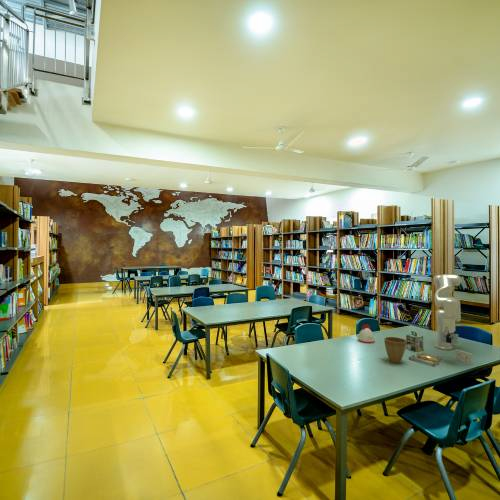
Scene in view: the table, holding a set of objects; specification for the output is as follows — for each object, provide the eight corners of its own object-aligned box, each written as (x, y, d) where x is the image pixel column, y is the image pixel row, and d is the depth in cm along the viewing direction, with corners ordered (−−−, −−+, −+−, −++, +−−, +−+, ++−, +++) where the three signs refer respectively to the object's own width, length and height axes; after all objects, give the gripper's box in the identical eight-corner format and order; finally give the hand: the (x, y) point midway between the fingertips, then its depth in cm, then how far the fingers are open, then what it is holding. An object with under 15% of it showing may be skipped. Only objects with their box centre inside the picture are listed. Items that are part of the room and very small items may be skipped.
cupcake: (354, 339, 285) (354, 323, 284) (367, 338, 289) (367, 322, 289) (364, 344, 271) (364, 326, 271) (378, 342, 275) (378, 325, 275)
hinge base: (445, 360, 232) (445, 356, 232) (434, 366, 221) (434, 362, 221) (421, 353, 246) (421, 350, 246) (408, 359, 235) (408, 355, 235)
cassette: (472, 364, 224) (473, 354, 224) (471, 365, 223) (471, 354, 223) (456, 359, 235) (456, 348, 235) (455, 359, 234) (455, 349, 234)
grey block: (442, 340, 232) (442, 331, 232) (458, 344, 224) (458, 334, 224) (441, 341, 230) (441, 332, 230) (456, 345, 222) (456, 335, 222)
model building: (423, 350, 254) (423, 332, 254) (415, 351, 251) (415, 333, 251) (414, 347, 263) (414, 329, 263) (405, 348, 260) (405, 330, 260)
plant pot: (398, 366, 221) (398, 343, 221) (379, 360, 233) (379, 338, 233) (410, 362, 229) (410, 340, 228) (392, 356, 241) (392, 335, 241)
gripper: (448, 314, 235) (448, 338, 235) (439, 317, 225) (439, 343, 225) (459, 316, 229) (459, 341, 229) (451, 319, 219) (451, 345, 219)
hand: (449, 341), depth 227 cm, fingers closed on grey block, 3 cm apart
